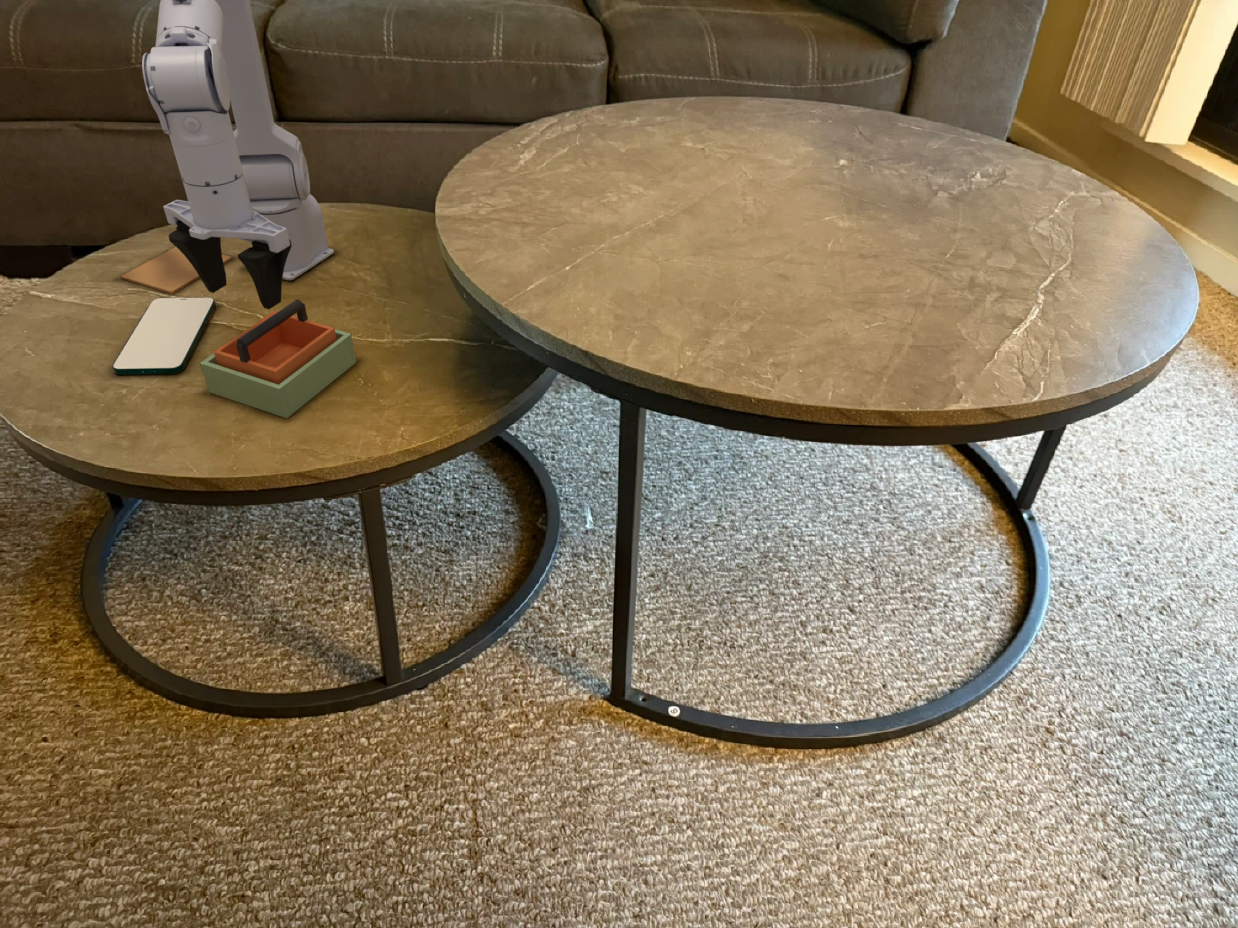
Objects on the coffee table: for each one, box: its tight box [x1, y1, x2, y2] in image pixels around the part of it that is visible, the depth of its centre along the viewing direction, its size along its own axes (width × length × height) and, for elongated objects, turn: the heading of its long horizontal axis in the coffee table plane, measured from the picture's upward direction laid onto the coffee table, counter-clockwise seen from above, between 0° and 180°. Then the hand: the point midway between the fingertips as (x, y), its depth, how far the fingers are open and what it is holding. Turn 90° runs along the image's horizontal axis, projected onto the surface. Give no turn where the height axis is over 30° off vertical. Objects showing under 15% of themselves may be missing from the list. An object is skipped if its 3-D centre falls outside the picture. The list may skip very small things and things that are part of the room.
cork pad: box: [120, 246, 233, 295], centre depth 124 cm, size 11×9×1 cm
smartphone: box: [112, 296, 217, 375], centre depth 111 cm, size 8×1×16 cm
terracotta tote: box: [213, 299, 337, 385], centre depth 103 cm, size 10×9×7 cm
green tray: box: [199, 328, 357, 419], centre depth 104 cm, size 12×11×4 cm
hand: (244, 296), depth 99 cm, fingers open, 7 cm apart
